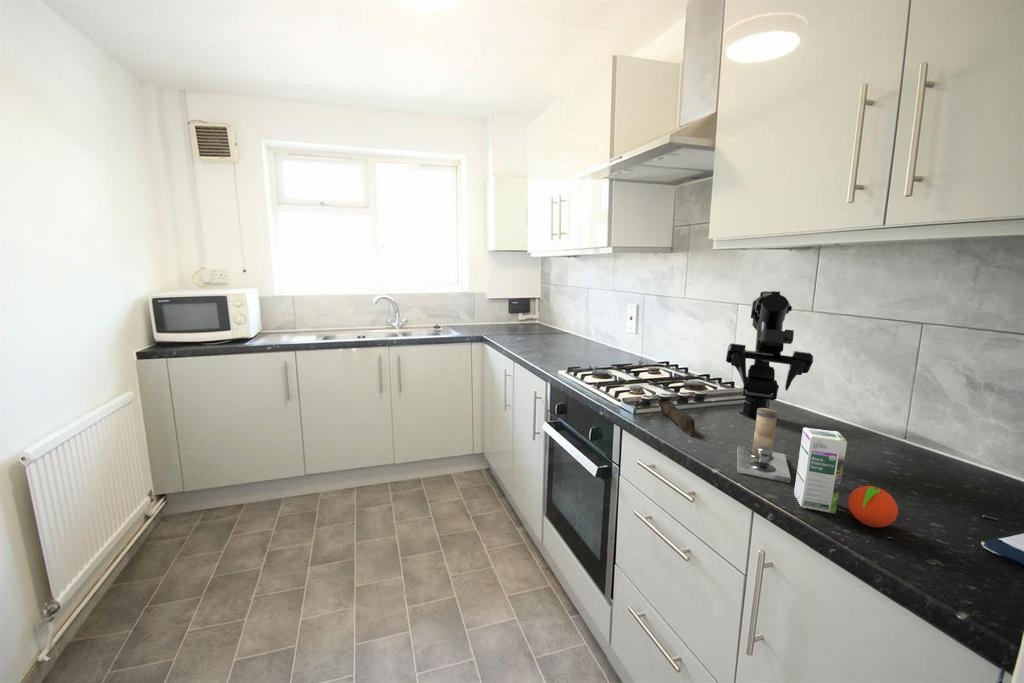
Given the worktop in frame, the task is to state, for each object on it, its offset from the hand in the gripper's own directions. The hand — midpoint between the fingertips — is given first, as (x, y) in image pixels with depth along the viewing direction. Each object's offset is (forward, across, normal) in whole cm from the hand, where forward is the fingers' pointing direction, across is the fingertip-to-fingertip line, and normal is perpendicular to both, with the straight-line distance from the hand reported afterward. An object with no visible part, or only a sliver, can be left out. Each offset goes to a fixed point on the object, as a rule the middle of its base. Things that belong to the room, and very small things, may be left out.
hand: (765, 386), depth 110 cm
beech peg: (+17, +1, +4) cm, 17 cm away
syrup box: (+29, +9, -8) cm, 31 cm away
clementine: (+32, +16, -11) cm, 37 cm away
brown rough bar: (+7, -18, +17) cm, 26 cm away
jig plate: (+20, +1, +2) cm, 20 cm away
